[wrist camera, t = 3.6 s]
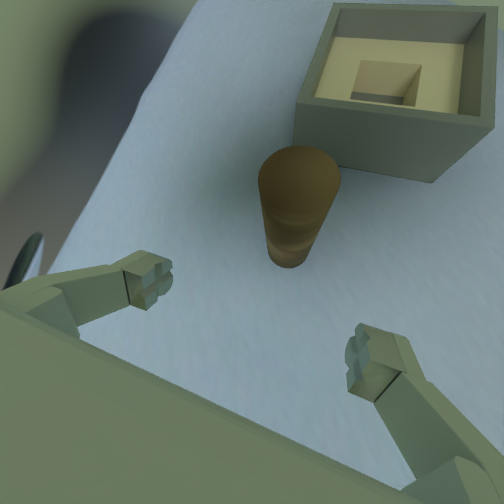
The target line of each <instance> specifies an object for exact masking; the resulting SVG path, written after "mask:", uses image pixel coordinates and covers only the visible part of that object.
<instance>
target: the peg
mask: <svg viewBox="0 0 504 504" xmlns="http://www.w3.org/2000/svg"><path fill="white" fill-rule="evenodd" d="M340 182H341V176H340V171H339V168H338V166H337V164H336V162H335V161H334V160H333V159H332V158H331V157H330V156H329V155H328V154H327V153H325V152H324V151H322V150H320V149H317V148H314V147H310V146H300V145H298V146H290V147H286V148H283V149H281V150H279V151H277V152H275V153H274V154H272V155H271V156H270V157H269V158H267V160H266V161H265V162H264V163H263V165H262V167H261V169H260V172H259V176H258V185H259V192H260V199H261V206H262V213H263V220H264V227H265V234H266V241H267V248H268V254H269V256H270V258H271V260H272V261H273V262H274V263H275V264H276V265H278V266H280V267H283V268H294V267H297V266H299V265H300V264H302V263H303V262H304V261H305V259H306V258H307V256H308V253H309V251H310V249H311V247H312V245H313V243H314V241H315V239H316V236H317V234H318V232H319V230H320V228H321V226H322V224H323V222H324V219H325V217H326V215H327V213H328V211H329V209H330V207H331V205H332V203H333V200H334V198H335V196H336V194H337V192H338V190H339V187H340Z"/></svg>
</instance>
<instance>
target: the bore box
mask: <svg viewBox="0 0 504 504" xmlns="http://www.w3.org/2000/svg"><path fill="white" fill-rule="evenodd" d="M497 27H498V7H493V6H451V5H408V4H366V3H333V6H332V9H331V11H330V14H329V17H328V19H327V22H326V25H325V27H324V30H323V33H322V35H321V38H320V41H319V43H318V46H317V49H316V51H315V54H314V57H313V59H312V62H311V65H310V67H309V70H308V73H307V75H306V78H305V81H304V83H303V86H302V89H301V91H300V94H299V97H298V99H297V102H296V111H295V122H294V134H293V146H298V145H300V146H310V147H314V148H317V149H320V150H322V151H324V152H325V153H327V154H328V155H329V156H330V157H331V158H332V159H333V160H334V161H335V162H336V164H337V166H341V167H347V168H352V169H357V170H363V171H368V172H374V173H379V174H384V175H390V176H395V177H401V178H406V179H411V180H417V181H422V182H428V183H433V182H434V181H435V180H436V179H437V178H438V177H439V176H441V175H442V174H443V173H444V172H445V171H446V170H447V169H448V168H450V167H451V166H452V165H453V164H454V163H455V162H456V161H458V160H459V159H460V158H461V157H462V156H463V155H464V154H466V153H467V152H468V151H469V150H470V149H471V148H472V147H473V146H475V145H476V144H477V143H478V142H479V141H480V140H481V139H483V138H484V137H485V136H486V135H487V134H488V133H489V132H491V131H492V130H493V129H494V125H495V92H496V59H497Z"/></svg>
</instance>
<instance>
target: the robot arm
mask: <svg viewBox="0 0 504 504" xmlns="http://www.w3.org/2000/svg"><path fill="white" fill-rule="evenodd" d="M172 268H173V267H172V261H171V260H169V259H167V258H164V257H161V256H158V255H156V254H153V253H150V252H147V251H144V250H138V251H136V252H134V253H132V254H131V255H129V256H127V257H125V258H123V259H121V260H119V261H117V262H115V263H113V264H112V265H110V266H109V265H101V266H95V267H89V268H84V269H78V270H72V271H66V272H60V273H54V274H49V275H43V276H37V277H33V278H31V279H28V280H26V281H24V282H22V283H19V284H17V285H15V286H12V287H10V288H8V289H5V290H3V291H1V292H0V504H504V456H503V455H502V454H501V453H500V452H499V451H498V450H497V449H496V448H495V447H494V446H493V445H492V444H491V443H490V442H489V441H488V440H487V439H486V438H485V437H484V436H483V435H482V434H481V433H480V432H479V431H478V430H477V429H476V428H475V427H474V426H473V424H472V423H471V422H470V421H469V420H468V419H467V418H466V417H465V416H464V415H463V414H462V413H461V412H460V411H459V410H458V409H457V408H456V407H455V406H454V405H453V404H452V403H451V402H450V401H449V400H448V399H447V398H446V397H445V396H444V395H443V394H442V393H441V392H440V391H439V390H438V389H437V388H436V387H435V386H434V385H433V384H432V383H431V382H428V381H426V379H425V377H424V374H423V372H422V370H421V368H420V365H419V363H418V361H417V358H416V356H415V354H414V352H413V349H412V347H411V345H410V342H409V340H408V339H407V338H406V337H404V336H401V335H398V334H395V333H391V332H387V331H384V330H381V329H378V328H375V327H372V326H369V325H365V324H362V323H359V324H358V325H357V327H356V328H355V336H353V337H350V339H349V341H348V343H347V345H346V349H345V363H346V364H347V366H348V367H349V370H348V372H347V373H346V377H347V388H348V392H349V393H351V394H354V395H356V396H358V397H361V398H363V399H365V400H368V401H370V402H372V403H374V406H375V408H376V410H377V411H378V413H379V415H380V417H381V418H382V420H383V422H384V423H385V425H386V427H387V429H388V430H389V432H390V434H391V436H392V437H393V439H394V441H395V443H396V444H397V446H398V448H399V450H400V451H401V453H402V455H403V457H404V458H405V460H406V462H407V464H408V465H409V467H410V469H411V471H412V472H413V474H414V476H415V478H416V479H417V480H415V481H414V482H412V483H410V484H409V485H407V486H405V487H404V488H403V489H402V490H401V491H399V490H397V489H395V488H392V487H390V486H388V485H386V484H384V483H382V482H380V481H378V480H376V479H373V478H371V477H369V476H367V475H365V474H363V473H361V472H359V471H357V470H354V469H352V468H350V467H348V466H346V465H344V464H342V463H340V462H338V461H335V460H333V459H331V458H329V457H327V456H325V455H323V454H321V453H319V452H316V451H314V450H312V449H310V448H308V447H306V446H304V445H302V444H300V443H298V442H295V441H293V440H291V439H289V438H287V437H285V436H283V435H281V434H279V433H277V432H274V431H272V430H270V429H268V428H266V427H264V426H262V425H260V424H258V423H255V422H253V421H251V420H249V419H247V418H245V417H243V416H241V415H239V414H237V413H234V412H232V411H230V410H228V409H226V408H224V407H222V406H220V405H218V404H216V403H213V402H211V401H209V400H207V399H205V398H203V397H201V396H199V395H197V394H194V393H192V392H190V391H188V390H186V389H184V388H182V387H180V386H178V385H175V384H173V383H171V382H169V381H167V380H165V379H163V378H161V377H159V376H156V375H154V374H152V373H150V372H148V371H146V370H144V369H142V368H140V367H137V366H135V365H133V364H131V363H129V362H127V361H125V360H123V359H121V358H118V357H116V356H114V355H112V354H110V353H108V352H106V351H104V350H102V349H99V348H97V347H95V346H93V345H91V344H89V343H87V342H85V341H83V340H80V339H79V338H80V333H79V331H78V328H77V327H78V326H80V325H83V324H85V323H88V322H90V321H93V320H95V319H98V318H100V317H103V316H105V315H108V314H110V313H113V312H115V311H118V310H120V309H122V308H125V307H127V306H129V305H132V306H134V307H137V308H140V309H143V310H145V311H147V310H148V309H149V308H150V307H151V306H152V305H153V304H155V303H156V302H157V300H158V297H159V296H162V295H165V294H166V293H167V292H168V291H169V289H170V288H171V286H172V283H173V275H172V273H171V272H170V270H171V269H172Z"/></svg>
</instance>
